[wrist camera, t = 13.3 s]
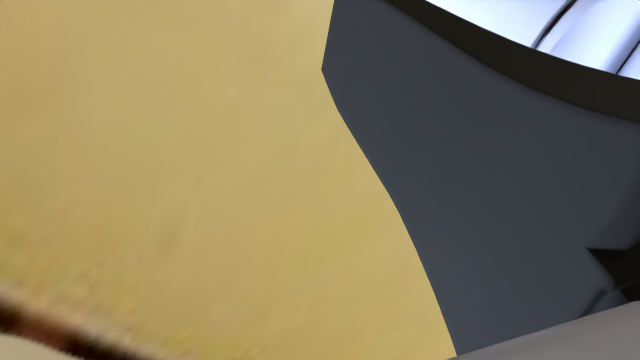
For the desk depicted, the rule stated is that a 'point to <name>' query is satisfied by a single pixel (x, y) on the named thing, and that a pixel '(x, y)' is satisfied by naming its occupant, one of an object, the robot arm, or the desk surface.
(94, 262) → the desk surface
